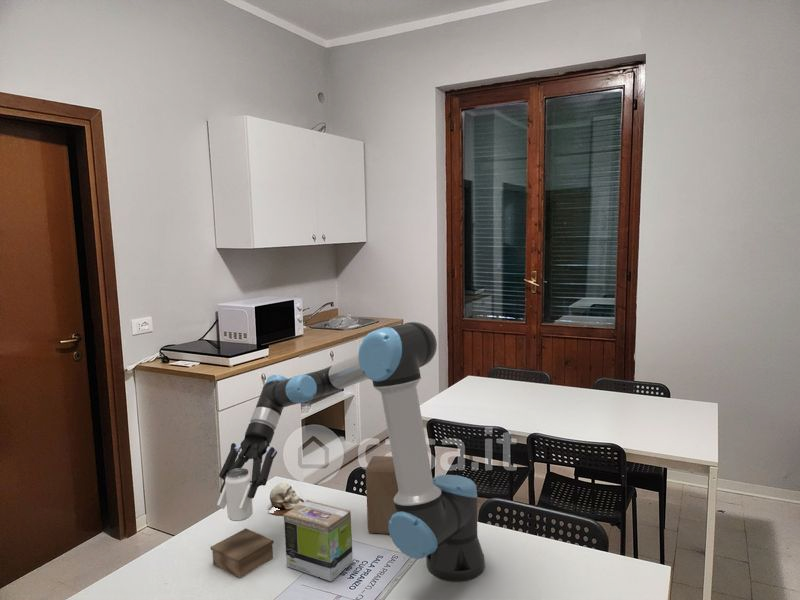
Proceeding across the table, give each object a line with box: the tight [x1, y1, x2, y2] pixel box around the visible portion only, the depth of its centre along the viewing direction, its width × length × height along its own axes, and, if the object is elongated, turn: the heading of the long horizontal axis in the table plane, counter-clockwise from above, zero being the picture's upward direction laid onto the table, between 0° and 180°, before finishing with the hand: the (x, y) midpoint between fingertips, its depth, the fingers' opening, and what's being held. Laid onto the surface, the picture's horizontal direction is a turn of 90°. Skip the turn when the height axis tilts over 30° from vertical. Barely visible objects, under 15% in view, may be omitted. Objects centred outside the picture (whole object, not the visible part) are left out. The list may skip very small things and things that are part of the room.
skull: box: [269, 482, 305, 516], centre depth 183 cm, size 12×10×10 cm
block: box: [365, 455, 398, 535], centre depth 168 cm, size 10×10×20 cm
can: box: [225, 467, 254, 522], centre depth 151 cm, size 6×6×12 cm
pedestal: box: [210, 528, 275, 579], centre depth 152 cm, size 12×12×5 cm
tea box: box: [283, 499, 353, 582], centre depth 149 cm, size 15×10×15 cm
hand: (231, 508), depth 147 cm, fingers closed on can, 6 cm apart
